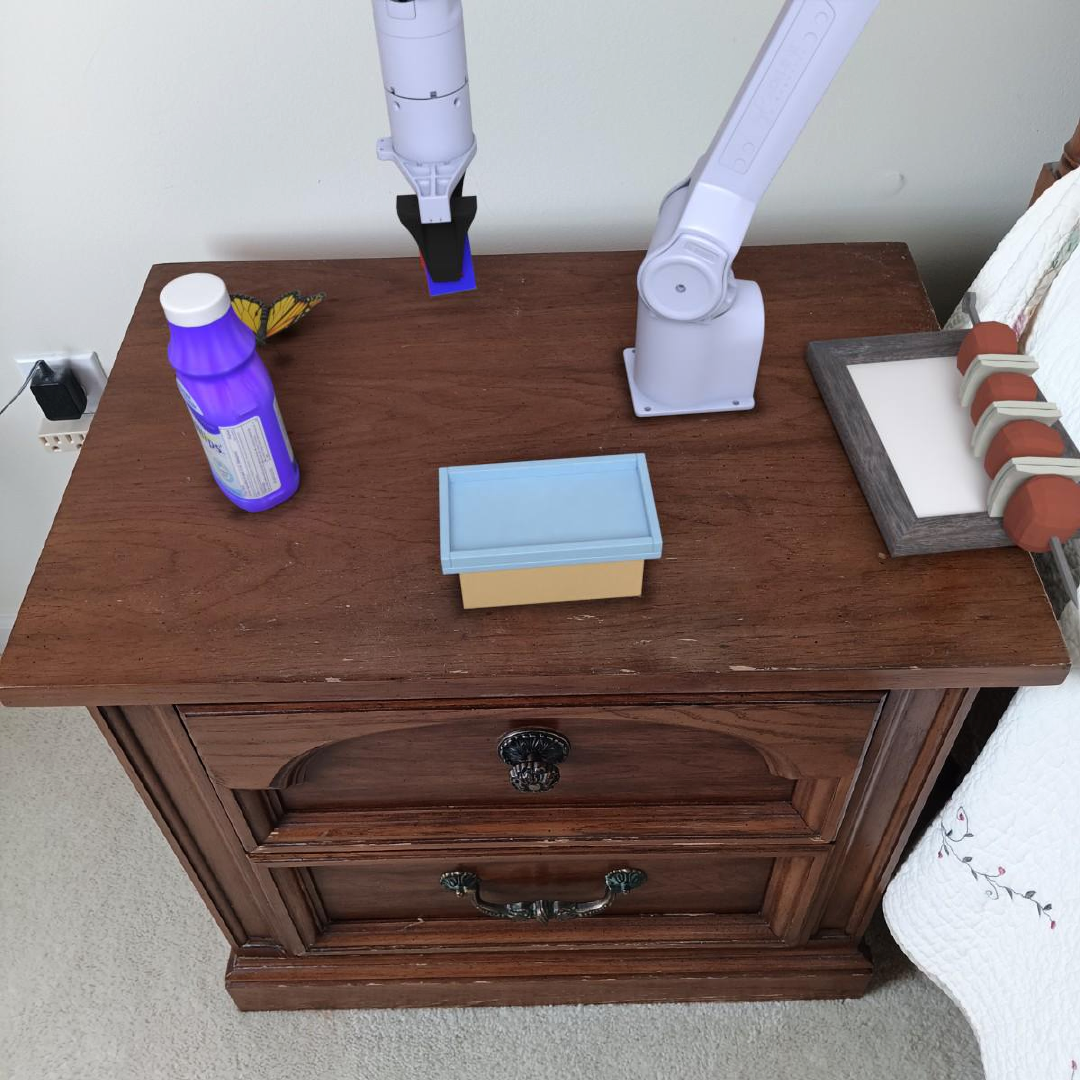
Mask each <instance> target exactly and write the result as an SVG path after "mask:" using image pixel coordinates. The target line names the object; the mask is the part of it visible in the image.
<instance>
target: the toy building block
mask: <svg viewBox="0 0 1080 1080" xmlns="http://www.w3.org/2000/svg"><path fill="white" fill-rule="evenodd" d="M418 253H419V258H420V264H421V268H422V269H423V270H424V272H425V277H426V282H427V287H428V293H429V297H434V296H440V295H446V294H452V293H453V294H454V293H459V292H466V291H471V290H476V289H477V284H476V277H475V269H474V264H473V263H474V262H473V258H472V250H471V244H470V238H469V232H468V233H467V236H466V240H465V246H464V256H463V267H462V273H461V277H460V280H459V281H453V282H438V283H434V282H433V281H432V279H431V277H430V275H429V273H428V270H427V268H426V265H425V262H424V259H423V257H422V254H421V252H420V249H419V248H418Z"/></svg>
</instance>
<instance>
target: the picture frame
mask: <svg viewBox="0 0 1080 1080" xmlns="http://www.w3.org/2000/svg"><path fill="white" fill-rule="evenodd" d="M971 329H972V327H971V328H959V329H948V330H946V329H945V330H935V331H926V332H925V331H923V332H922V331H921V332H911V333H898V334H887V335H886V334H885V335H876V336H875V335H874V336H863V337H861V336H860V337H851V338H839V339H837V338H836V339H826V340H825V339H824V340H814V341H808V344H807V347H806V351H805V355H804V358H805V360H806V363H807V365H808V367H809V369H810V372H811V374H812V376H813V379H814V381H815V383H816V385H817V388H818V390H819V392H820V395H821V397H822V400H823V402H824V404H825V407H826V409H827V411H828V413H829V416H830V418H831V420H832V422H833V425H834V427H835V430H836V432H837V434H838V436H839V439H840V441H841V443H842V446H843V448H844V450H845V452H846V455H847V457H848V459H849V462H850V464H851V466H852V469H853V471H854V473H855V476H856V478H857V480H858V483H859V485H860V487H861V490H862V492H863V494H864V496H865V497H864V498H865V499H866V502H867V504H868V506H869V509H870V511H871V513H872V516H873V517H874V520H875V522H876V524H877V526H878V528H879V532H880V534H881V536H882V538H883V540H884V543H885V545H886V547H887V550H888V552H889V555H890V556H891V558H898V557H908V556H909V557H910V556H918V555H928V554H929V555H931V554H941V553H948V552H959V551H968V550H978V549H979V550H980V549H987V548H988V549H989V548H991V549H992V548H999V547H1000V548H1001V547H1008V546H1009V547H1010V546H1017V545H1016V544H1015V543H1013V542H1012V541H1011V539H1010V538H1009V536H1008V534H1007V533H1006V531H1005V530H1004V528H1003V518H1004V517H990V516H989V514H988V510H989V507H988V505H987V497H988V492H989V489H990V487H991V485H992V483H993V480H991V479H990V477H989V476H988V474H987V472H986V470H985V468H984V461H985V457H974V456H973V450H974V448H973V447H972V445H971V444H972V438H973V433H974V430H975V428H976V427H975V426H974V424H973V421H972V418H971V415H970V414H971V407H961V405H960V402H961V398H960V397H959V390H960V385H961V382H962V380H963V376H962V374H961V373H960V371H959V370H958V368H957V354H958V352H959V349H960V346H961V344H962V341H963V340H964V338H965V337H966V335H967V333H968V332H969V331H970V330H971ZM1017 355H1019V354H1018V353H1017ZM1031 378H1033V375H1031ZM1033 380H1034V382H1035V385H1036V388H1037V397H1036V400H1035V402H1049V401H1048V400H1047V398H1046V396H1045V395H1044V393H1043V392H1042V391H1041V389H1040V387H1039V386H1038V384H1037V383H1036V381H1035V379H1034V378H1033ZM1050 428H1052V429H1054V430H1056V431H1057V432H1058V433H1059V435H1060V437H1061V438H1062V441H1063V444H1064V446H1065V448H1064V452H1063V454H1062V456H1061V457H1060V458H1070V459H1080V450H1079V449H1078V447H1077V445H1076V444H1075V442H1074V441H1073V439H1072V437H1071V435H1070V434H1069V432H1068V431H1067V429H1066V428H1065V426H1064V425H1063V423H1062V422H1061V420H1060V418H1059V419H1058V420H1057V421H1056V422H1054V423H1053V424H1052V425H1051V426H1050ZM1077 484H1078V485H1079V486H1080V481H1079V482H1078V483H1077ZM1071 540H1080V527H1079V528H1078V530H1077V531H1076V533H1075V534H1074V535H1073V536H1071V537H1070V538H1069V539H1068V540H1067V541H1071Z"/></svg>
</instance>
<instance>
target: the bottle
mask: <svg viewBox="0 0 1080 1080" xmlns="http://www.w3.org/2000/svg"><path fill="white" fill-rule="evenodd" d="M228 294H229V292H228V289H227V286H226V283H225V282H224V280H223V279H222V278H220V276H217V275H214V274H212V273H208V272H194V273H188V274H184V275H181V276H179V277H176V278H174V279H172V280H171V281H169V282H168V283H167V284H166V285H165V286H164V287H163V288H162V289H161V292H160V294H159V302H160V304H161V306H162V309H163V312H164V315H165V319H166V321H167V324H168V328H169V332H170V338H169V341H168V346H167V359H168V361H169V364H170V366H171V367H172V368H173V369H174V370H175V376H176V377H175V380H176V384H177V388H178V390H179V392H180V394H181V396H182V398H183V400H184V401H185V404H186V407H187V409H188V411H189V414H190V417H191V419H192V422H193V424H194V427H195V430H196V432H197V435H198V437H199V439H200V443H201V446H202V448H203V450H204V453H205V456H206V458H207V461H208V463H209V466H210V471H211V474H212V476H213V478H214V480H215V482H216V484H217V486H218V487H219V489H220V490H221V491H222V493H223V494H224V495H225V496H226V497H227V498H228V499H229V500H230V501H231V502H232V503H233V504H234V505H236V506H237V507H238V508H240V509H241V510H243V511H247V513H248V512H249V513H260V512H264V511H268V510H270V509H272V508H275V507H276V506H278V505H279V504H282V503H285V501H287V500H289V499H290V498H291V497H292V496H293V495H294V494H295V493H296V492H297V491H298V488H299V485H300V479H301V478H300V477H301V476H300V469H299V465H298V462H297V460H296V458H295V455H294V451H293V449H292V445H291V442H290V439H289V436H288V432H287V429H286V427H285V424H284V420H283V416H282V413H281V411H280V406H279V404H278V399H277V397H276V393H275V388H274V385H273V382H272V379H271V377H270V374H269V371H268V370H267V368H266V365H265V364H264V362H263V360H262V359H261V357H260V356H259V353H258V352H257V351H256V347H257V346H256V342H255V336H254V333H253V331H252V330H251V329H250V327H249V326H247V325H246V324H245V323H243V322H242V321H241V320H240V318H239V317H238V316H237V314H236V313H235V311H234V309H233V307H232V304H231V301H230V297H229V295H228Z"/></svg>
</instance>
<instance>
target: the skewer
mask: <svg viewBox="0 0 1080 1080" xmlns="http://www.w3.org/2000/svg"><path fill="white" fill-rule="evenodd" d="M976 304H977V292H975V291H964V295H963V298H962V301H961V312H962V313H964V314H967V315H968V317H969V319H970V323H971V325H972V327H971V328H972V329H971V330H970V331H969V332H968V333H967V335H966V337H965V338H964V340H963V341H962V344H961V346H960V349H959V352H958V354H957V368H958V370H959V371H960V373H961V374H962V376H963V380H962V382H961V385H960V390H959V397H960V398H961V402H960V405H961V407H971V414H970V415H971V418H972V421H973V424H974V426H975V427H976V428H975V430H974V433H973V438H972V444H971V445H972V447H973V448H974V450H973V456H974V457H985V461H984V468H985V470H986V472H987V474H988V476H989V477H990V479H991V480H993V483H992V485H991V487H990V489H989V492H988V497H987V505H988V507H989V510H988V514H989V516H990V517H1004V518H1003V528H1004V530H1005V531H1006V533H1007V534H1008V536H1009V538H1010V539H1011V541H1012V542H1013V543H1015V544H1016V545H1015V546H1018V547H1019V548H1020V549H1022V550H1024V551H1025V552H1030V553H1031V552H1032V553H1037V554H1043V553H1046V552H1047V553H1048V552H1050V551H1051V553H1052V557H1053V559H1054V561H1055V564H1056V567H1057V570H1058V573H1059V575H1060V577H1061V581H1062V584H1063V587H1064V589H1065V592H1066V594H1067V596H1068V597H1069V600H1071V602H1072V603H1073V605H1074V606H1075V608H1076V610H1079V599H1078V598H1079V597H1078V589H1077V586H1076V583H1075V580H1074V578H1073V575H1072V572H1071V568H1070V567H1069V564H1068V561H1067V558H1066V555H1065V552H1064V550H1063V547H1062V545H1063V544H1064V543H1066V542H1067V541H1069V540H1068V539H1069V538H1070V537H1071V536H1073V535H1074V534H1075V533H1076V531H1077V530H1078V528H1079V527H1080V486H1079V485H1078V484H1077V483H1078V482H1079V481H1080V459H1070V458H1060V457H1061V456H1062V454H1063V452H1064V448H1065V446H1064V444H1063V441H1062V438H1061V437H1060V435H1059V433H1058V432H1057V431H1056V430H1054V429H1052V428H1050V426H1051V425H1052V424H1053V423H1054V422H1056V421H1057V420H1058V419H1059V420H1060V419H1061V418H1062V417H1063V414H1062V410H1061V409H1058V405H1057V403H1056V402H1050V401H1048V402H1035V400H1036V397H1037V388H1036V385H1035V382H1036V381H1035V379H1034V377H1032V378H1031V376H1033V375H1034V374H1035V373H1036V372H1037V371H1038V370H1039V369H1040V365H1039V361H1036V358H1035V355H1029V354H1028V355H1025V354H1018V352H1019V342H1018V338H1017V332H1016V331H1015V330H1014V329H1013V328H1012V327H1011V326H1009V324H1008V323H1007V324H1006V323H1003V322H1000V321H996V320H988V321H987V320H986V321H981V319H980V316H979V314H978V311H977V308H976ZM1017 354H1018V355H1017ZM1033 379H1034V380H1033ZM1034 381H1035V382H1034Z"/></svg>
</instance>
